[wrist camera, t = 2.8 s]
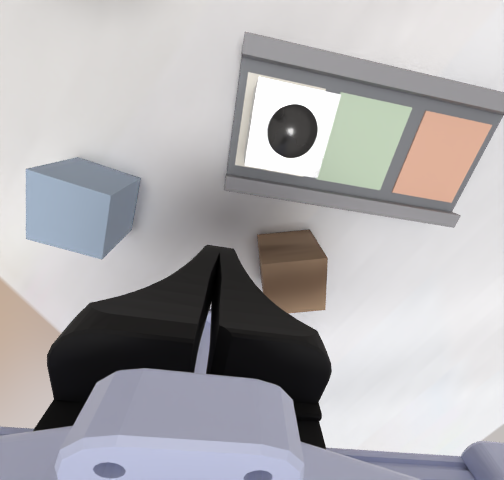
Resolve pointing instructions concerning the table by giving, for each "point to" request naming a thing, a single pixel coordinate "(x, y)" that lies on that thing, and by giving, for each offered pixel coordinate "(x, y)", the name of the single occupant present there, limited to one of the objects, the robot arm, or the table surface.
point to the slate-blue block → (79, 206)
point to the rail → (370, 134)
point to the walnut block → (293, 270)
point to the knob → (289, 127)
